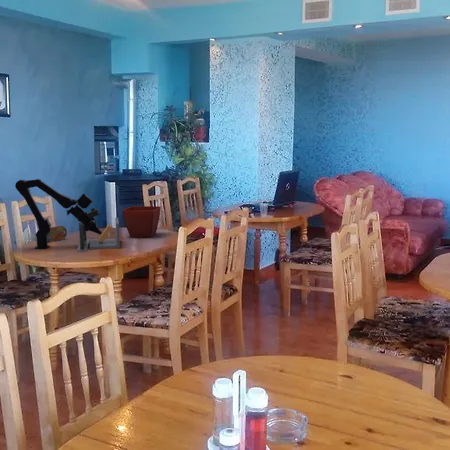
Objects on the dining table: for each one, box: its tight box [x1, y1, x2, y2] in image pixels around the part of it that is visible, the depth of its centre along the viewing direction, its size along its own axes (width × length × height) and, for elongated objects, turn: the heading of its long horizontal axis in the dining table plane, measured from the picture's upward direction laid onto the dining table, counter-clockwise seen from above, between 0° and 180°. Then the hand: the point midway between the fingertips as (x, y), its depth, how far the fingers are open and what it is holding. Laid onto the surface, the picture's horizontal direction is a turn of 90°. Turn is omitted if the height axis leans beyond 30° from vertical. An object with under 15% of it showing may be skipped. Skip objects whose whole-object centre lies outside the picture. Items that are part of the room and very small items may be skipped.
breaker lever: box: [98, 223, 114, 243], centre depth 339 cm, size 2×5×11 cm
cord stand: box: [76, 222, 90, 253], centre depth 337 cm, size 5×32×15 cm, turn 10°
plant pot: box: [121, 205, 162, 238], centre depth 367 cm, size 19×19×17 cm
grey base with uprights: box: [89, 217, 121, 250], centre depth 339 cm, size 16×22×14 cm
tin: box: [46, 225, 68, 243], centre depth 354 cm, size 15×3×8 cm, turn 143°
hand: (101, 233), depth 339 cm, fingers closed
